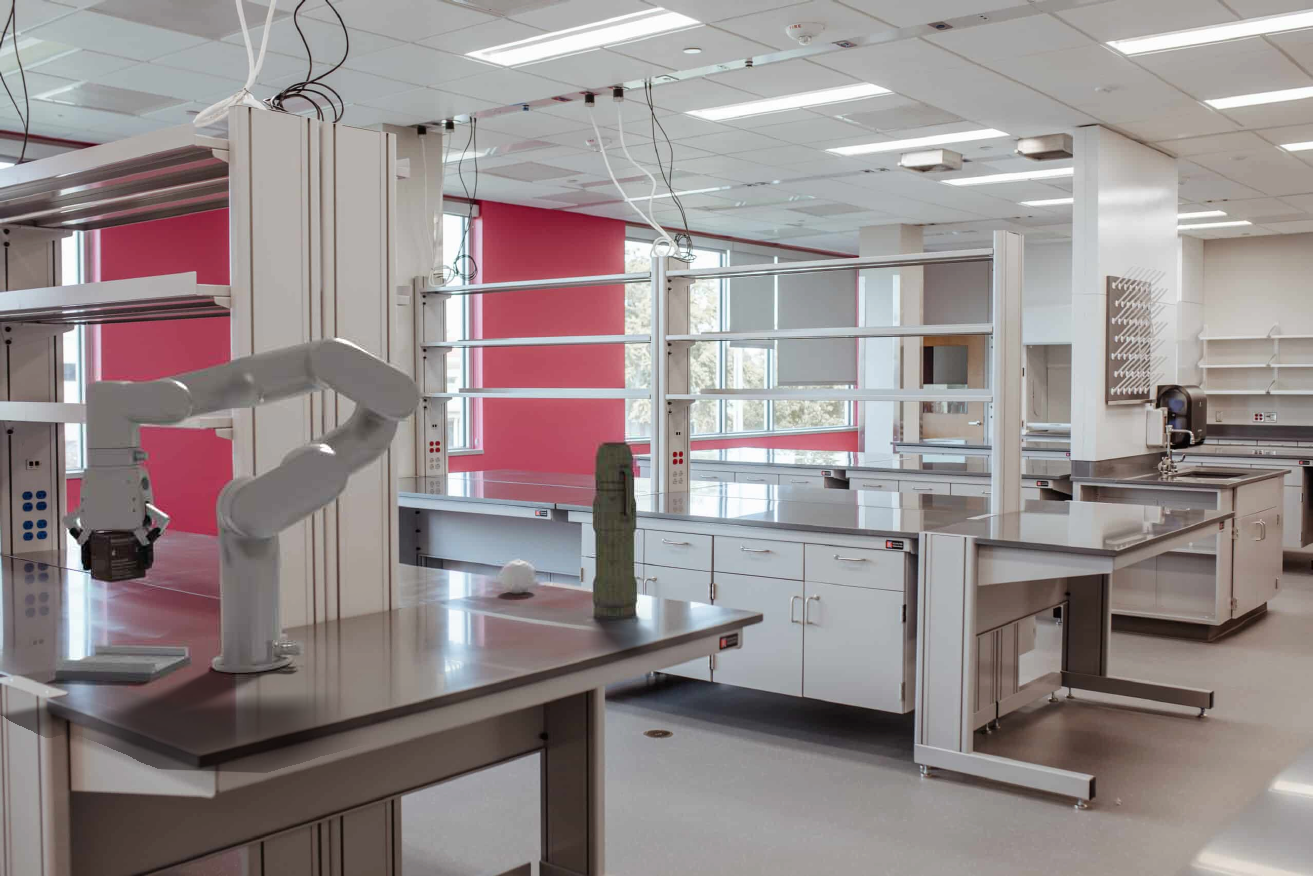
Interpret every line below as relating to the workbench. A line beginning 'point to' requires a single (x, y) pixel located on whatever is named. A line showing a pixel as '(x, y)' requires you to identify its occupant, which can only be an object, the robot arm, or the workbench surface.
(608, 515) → the thermos
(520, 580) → the white ball
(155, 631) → the workbench surface
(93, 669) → the panel
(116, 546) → the box
